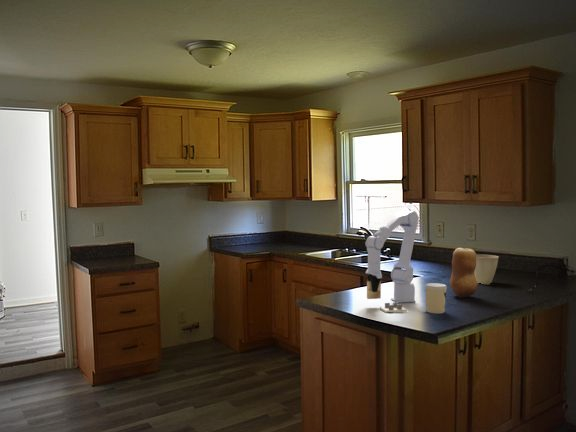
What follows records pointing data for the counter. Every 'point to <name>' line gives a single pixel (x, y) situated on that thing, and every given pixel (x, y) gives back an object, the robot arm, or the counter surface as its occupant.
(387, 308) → the cream pegged base plate
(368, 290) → the wooden block
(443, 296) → the coffee cup
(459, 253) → the butternut squash
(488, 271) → the plant pot
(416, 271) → the counter surface
